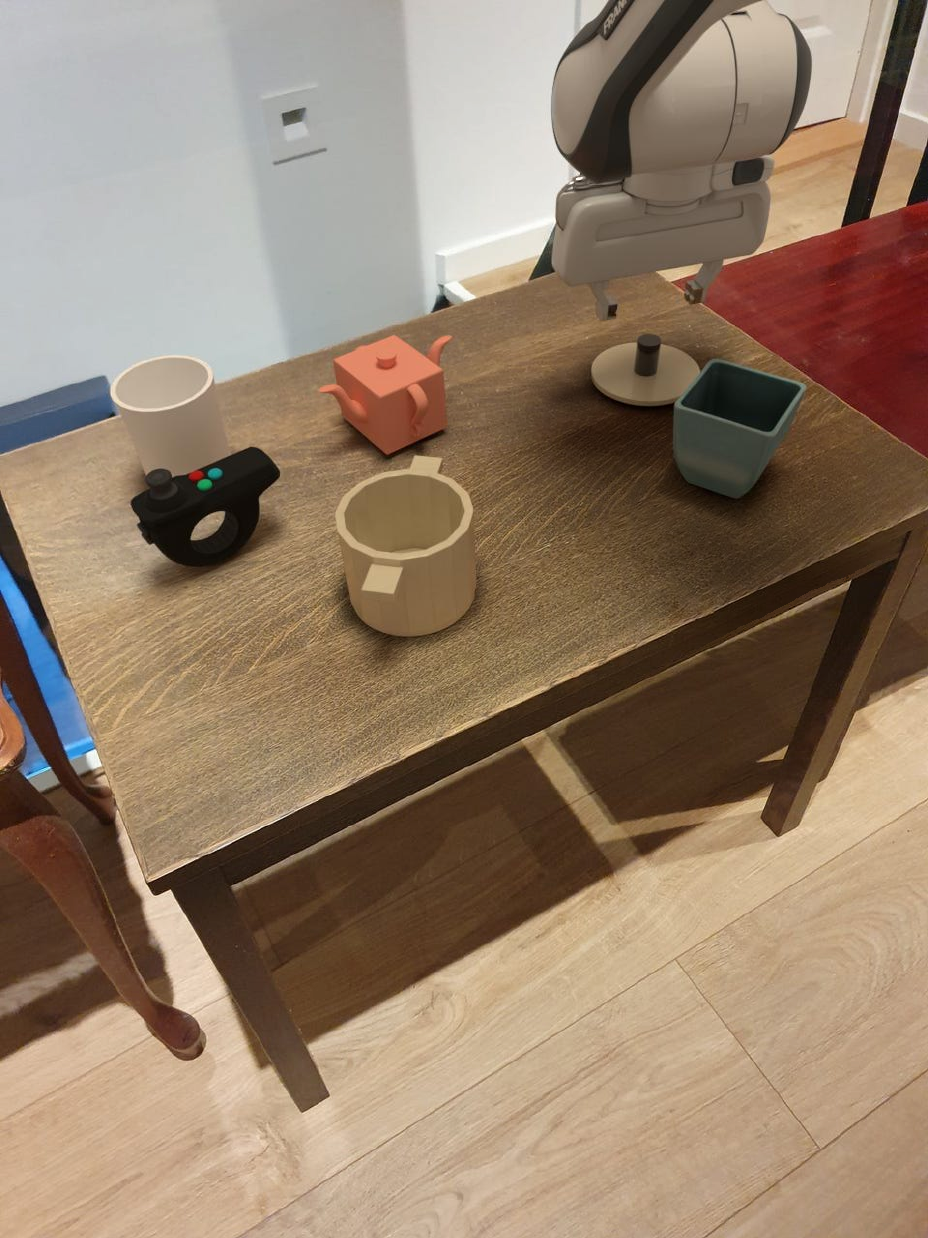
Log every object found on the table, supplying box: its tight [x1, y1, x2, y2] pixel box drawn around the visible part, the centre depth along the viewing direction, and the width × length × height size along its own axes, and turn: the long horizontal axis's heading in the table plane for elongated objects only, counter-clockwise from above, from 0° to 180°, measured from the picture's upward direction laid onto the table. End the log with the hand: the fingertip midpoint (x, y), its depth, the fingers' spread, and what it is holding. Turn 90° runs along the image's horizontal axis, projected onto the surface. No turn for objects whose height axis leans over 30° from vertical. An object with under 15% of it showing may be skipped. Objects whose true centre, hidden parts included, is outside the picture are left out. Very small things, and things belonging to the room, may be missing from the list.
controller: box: [130, 446, 281, 568], centre depth 74 cm, size 4×12×10 cm, turn 128°
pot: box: [334, 455, 477, 638], centre depth 71 cm, size 10×16×8 cm, turn 168°
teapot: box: [317, 334, 453, 456], centre depth 87 cm, size 12×15×8 cm
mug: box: [110, 354, 232, 478], centre depth 82 cm, size 11×9×10 cm
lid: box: [590, 333, 701, 407], centre depth 92 cm, size 11×11×5 cm
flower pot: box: [672, 358, 807, 500], centre depth 79 cm, size 9×9×9 cm
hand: (650, 309), depth 88 cm, fingers open, 8 cm apart
